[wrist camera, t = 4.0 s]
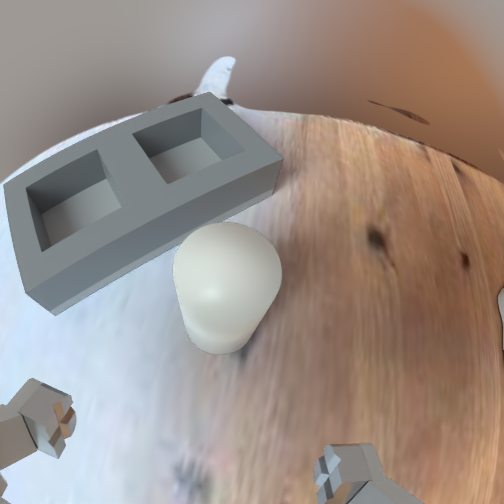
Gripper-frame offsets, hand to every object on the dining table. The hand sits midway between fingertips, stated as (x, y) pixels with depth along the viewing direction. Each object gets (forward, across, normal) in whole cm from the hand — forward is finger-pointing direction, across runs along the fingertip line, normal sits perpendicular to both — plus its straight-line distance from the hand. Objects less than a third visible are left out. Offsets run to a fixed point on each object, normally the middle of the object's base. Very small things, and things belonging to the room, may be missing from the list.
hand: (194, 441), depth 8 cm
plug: (+12, 0, +3) cm, 12 cm away
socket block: (+18, +8, -3) cm, 20 cm away
